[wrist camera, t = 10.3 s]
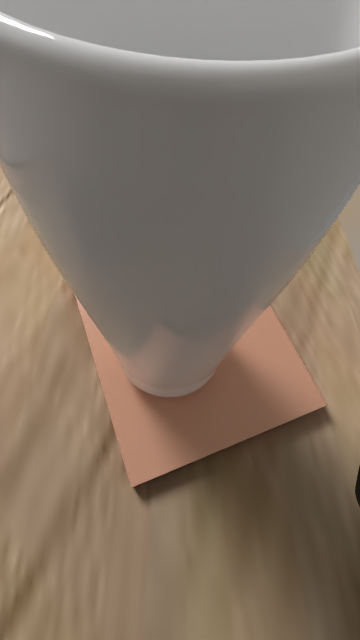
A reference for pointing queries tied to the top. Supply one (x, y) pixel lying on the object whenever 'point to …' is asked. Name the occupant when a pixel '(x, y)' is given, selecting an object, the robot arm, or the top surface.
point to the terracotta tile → (206, 401)
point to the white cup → (179, 160)
